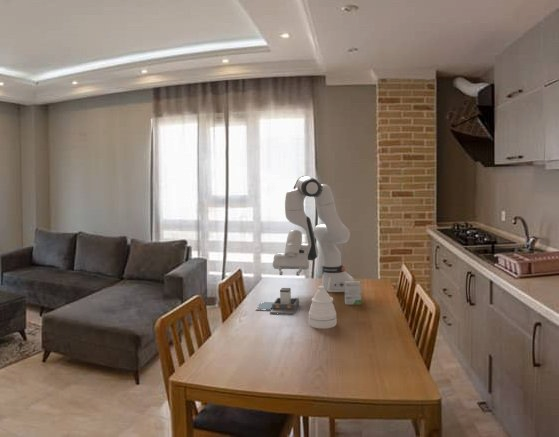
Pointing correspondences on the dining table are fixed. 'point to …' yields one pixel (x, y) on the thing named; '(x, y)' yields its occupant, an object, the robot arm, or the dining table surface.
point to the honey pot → (322, 310)
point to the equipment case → (285, 306)
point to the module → (285, 296)
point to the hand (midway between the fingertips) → (289, 274)
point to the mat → (265, 305)
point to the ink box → (353, 292)
